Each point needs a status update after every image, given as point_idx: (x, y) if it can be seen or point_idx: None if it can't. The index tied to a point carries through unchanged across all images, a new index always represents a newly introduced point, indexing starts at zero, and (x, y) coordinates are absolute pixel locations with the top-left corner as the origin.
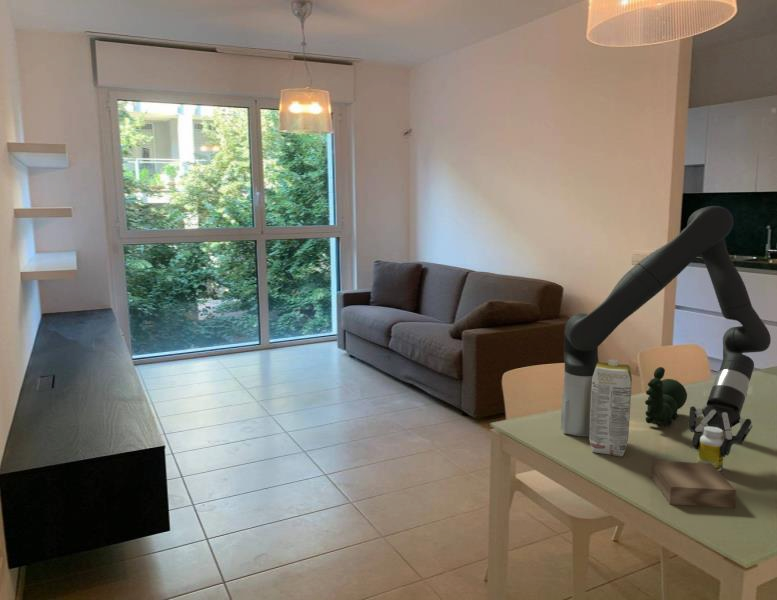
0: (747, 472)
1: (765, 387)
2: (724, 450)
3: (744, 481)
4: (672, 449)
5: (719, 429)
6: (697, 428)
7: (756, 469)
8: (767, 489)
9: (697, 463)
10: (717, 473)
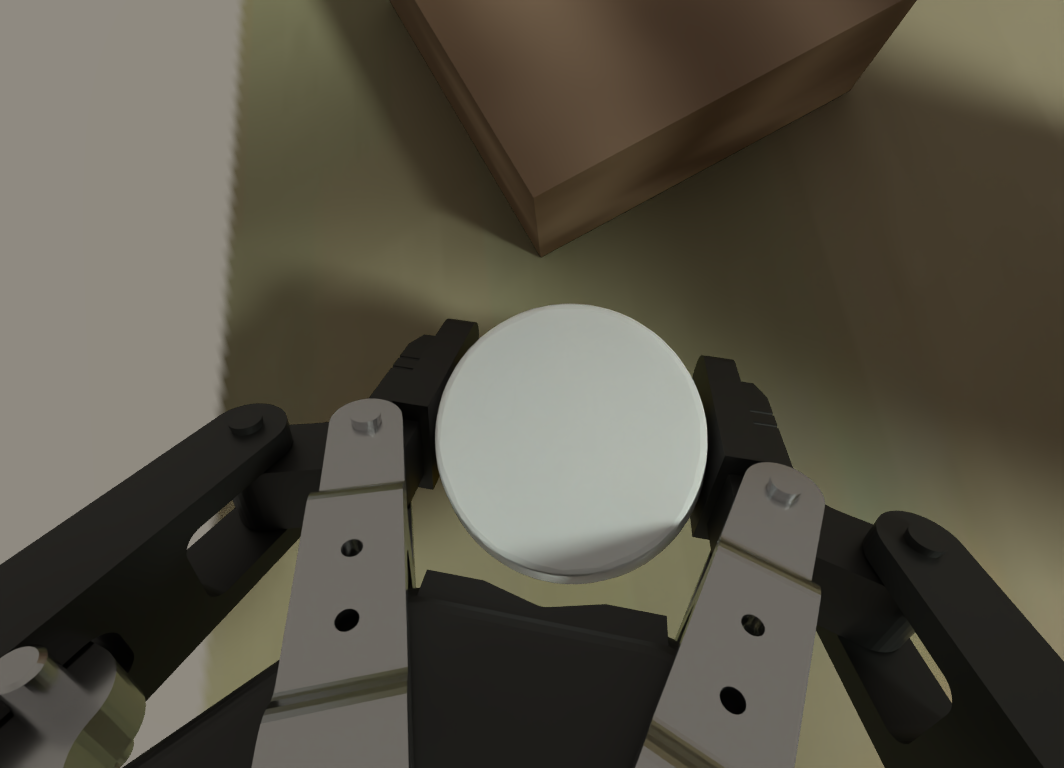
0: None
1: None
2: (440, 336)
3: (356, 357)
4: None
5: (484, 485)
6: (798, 495)
7: None
8: (238, 319)
9: (622, 133)
10: (470, 47)
